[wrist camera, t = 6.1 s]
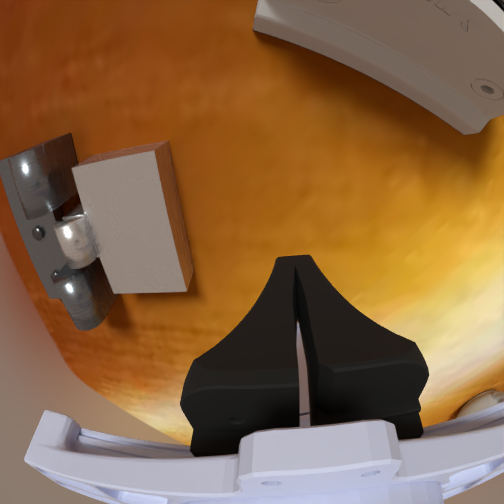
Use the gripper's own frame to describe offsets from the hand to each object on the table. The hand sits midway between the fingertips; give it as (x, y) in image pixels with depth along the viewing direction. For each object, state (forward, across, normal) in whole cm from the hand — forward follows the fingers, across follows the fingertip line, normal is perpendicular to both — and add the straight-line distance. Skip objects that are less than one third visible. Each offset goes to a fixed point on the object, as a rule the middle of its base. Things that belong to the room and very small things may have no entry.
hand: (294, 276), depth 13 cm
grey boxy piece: (+9, +12, 0) cm, 15 cm away
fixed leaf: (+9, +18, 0) cm, 20 cm away
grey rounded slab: (+10, -8, -11) cm, 17 cm away
